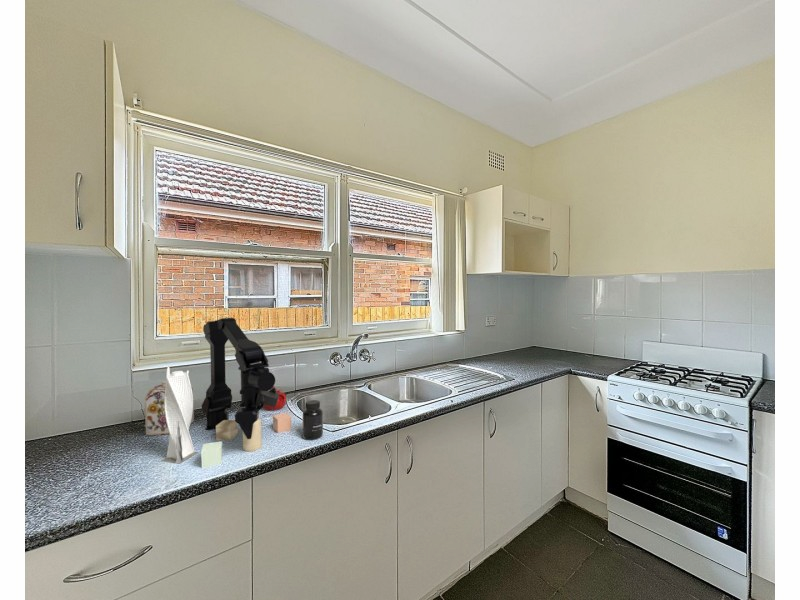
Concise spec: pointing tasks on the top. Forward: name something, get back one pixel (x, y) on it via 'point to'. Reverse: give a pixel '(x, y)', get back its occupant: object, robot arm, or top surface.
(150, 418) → the decorative jar
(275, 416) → the terracotta block
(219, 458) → the sage block
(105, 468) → the top surface
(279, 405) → the pomegranate
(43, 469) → the top surface
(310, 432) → the supplement bottle
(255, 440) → the candle
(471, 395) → the top surface
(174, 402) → the skyscraper
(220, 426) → the birch block
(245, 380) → the robot arm
